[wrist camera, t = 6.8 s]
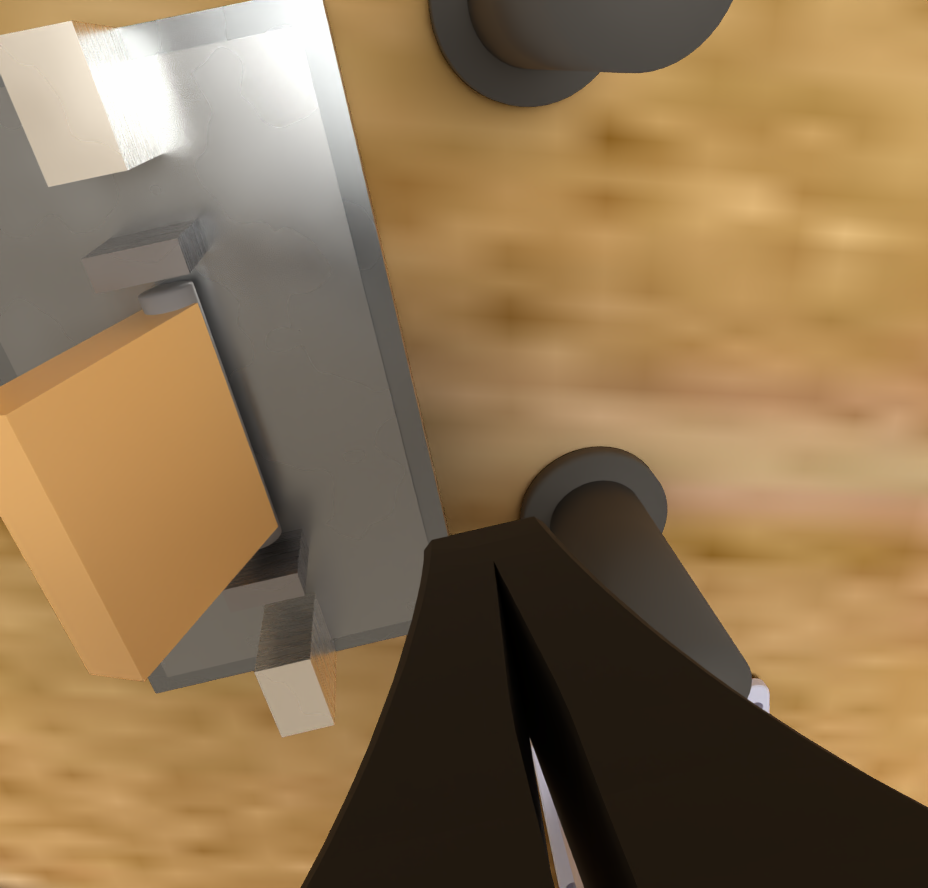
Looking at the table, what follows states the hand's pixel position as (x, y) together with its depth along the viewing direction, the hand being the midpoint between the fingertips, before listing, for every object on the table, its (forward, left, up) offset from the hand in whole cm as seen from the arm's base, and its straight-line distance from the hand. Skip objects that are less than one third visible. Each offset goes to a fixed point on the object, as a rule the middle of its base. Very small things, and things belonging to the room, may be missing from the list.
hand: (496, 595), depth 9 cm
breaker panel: (0, +5, -10) cm, 11 cm away
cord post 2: (-6, -3, -10) cm, 13 cm away
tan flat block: (0, +5, -7) cm, 8 cm away
